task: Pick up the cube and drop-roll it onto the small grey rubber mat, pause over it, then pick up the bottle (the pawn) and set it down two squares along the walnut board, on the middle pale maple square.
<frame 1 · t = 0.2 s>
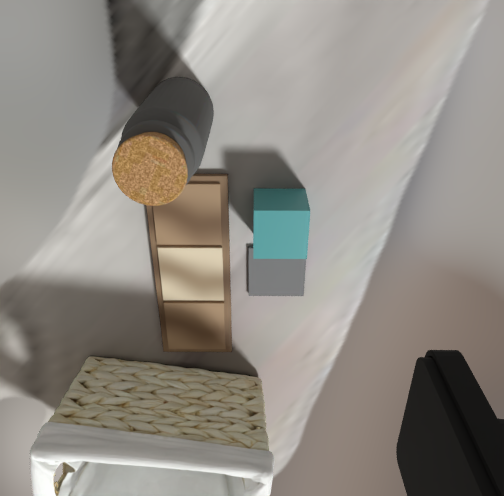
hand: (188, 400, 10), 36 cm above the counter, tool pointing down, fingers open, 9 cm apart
cube: (278, 211, 48), on the counter
storage basket: (171, 399, 62), on the counter
mat: (276, 270, 51), on the counter
board: (192, 270, 51), on the counter
bottle: (181, 109, 43), on the counter
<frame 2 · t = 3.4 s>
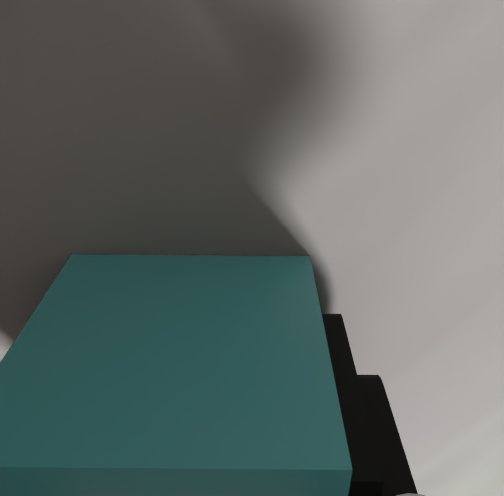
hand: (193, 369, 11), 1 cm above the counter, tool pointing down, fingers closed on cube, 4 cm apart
cube: (196, 346, 11), on the counter, touching gripper
when the fingers open (6 cm above the counter, at t = 5.4 s): cube drops 5 cm, resting on mat.
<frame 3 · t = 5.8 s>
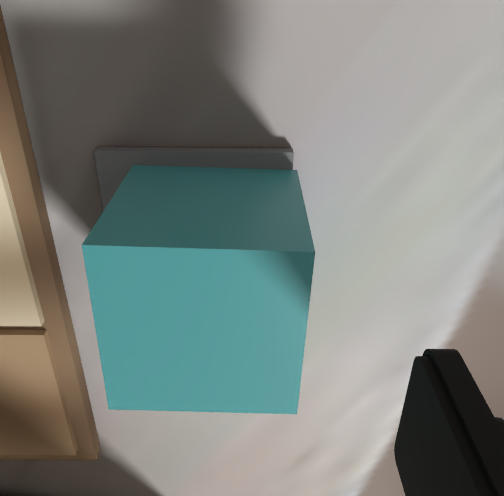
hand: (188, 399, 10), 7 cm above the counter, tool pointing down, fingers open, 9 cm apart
cube: (215, 239, 16), resting on mat
mat: (199, 233, 16), on the counter
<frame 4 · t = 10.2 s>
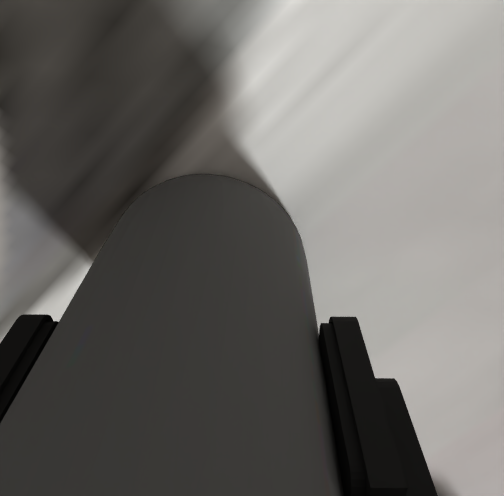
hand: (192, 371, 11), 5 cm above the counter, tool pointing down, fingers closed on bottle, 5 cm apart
bottle: (209, 259, 15), on the counter, touching gripper
when the fingers open (7 cm above the counter, at t = 15.3 s): bottle drops 1 cm, resting on board.
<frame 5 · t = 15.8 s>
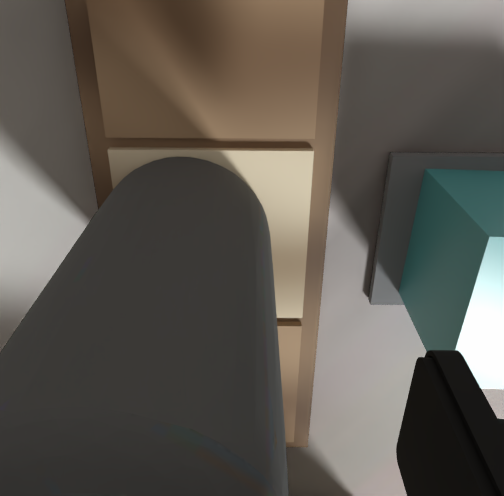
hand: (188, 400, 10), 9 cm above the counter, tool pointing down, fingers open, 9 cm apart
cube: (479, 236, 17), resting on mat
mat: (459, 231, 18), on the counter
board: (215, 230, 18), on the counter
bottle: (187, 232, 17), point 1 cm above the counter, touching board
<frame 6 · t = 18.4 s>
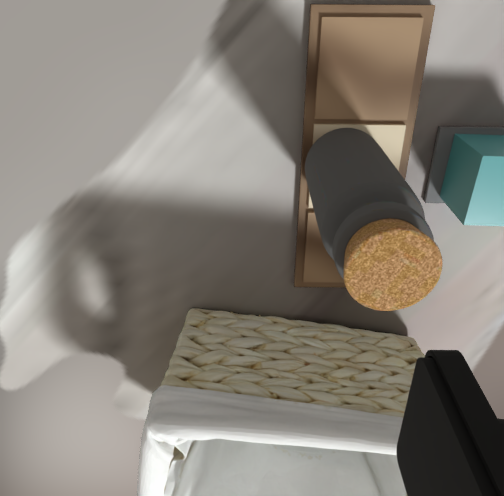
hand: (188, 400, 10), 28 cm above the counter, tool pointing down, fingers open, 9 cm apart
cube: (479, 167, 37), resting on mat
storage basket: (287, 368, 48), on the counter
mat: (469, 165, 37), on the counter
board: (353, 164, 37), on the counter
bottle: (342, 164, 36), point 1 cm above the counter, touching board
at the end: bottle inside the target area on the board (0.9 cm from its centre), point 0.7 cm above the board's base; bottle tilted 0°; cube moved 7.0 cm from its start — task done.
